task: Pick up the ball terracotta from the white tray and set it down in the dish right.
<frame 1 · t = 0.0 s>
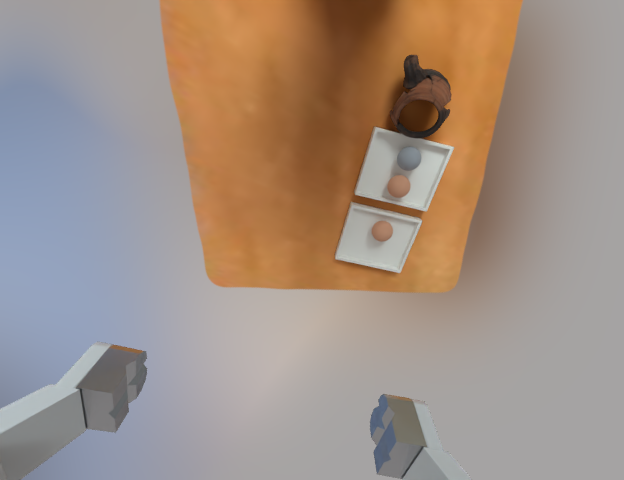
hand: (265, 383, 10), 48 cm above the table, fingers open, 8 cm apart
ball grey: (406, 156, 53), point 1 cm above the table, touching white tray
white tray: (400, 169, 54), on the table
ball terracotta b: (380, 227, 59), point 1 cm above the table, touching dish
ball terracotta a: (396, 183, 55), point 1 cm above the table, touching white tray
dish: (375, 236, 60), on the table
pottery mug: (414, 95, 49), on the table
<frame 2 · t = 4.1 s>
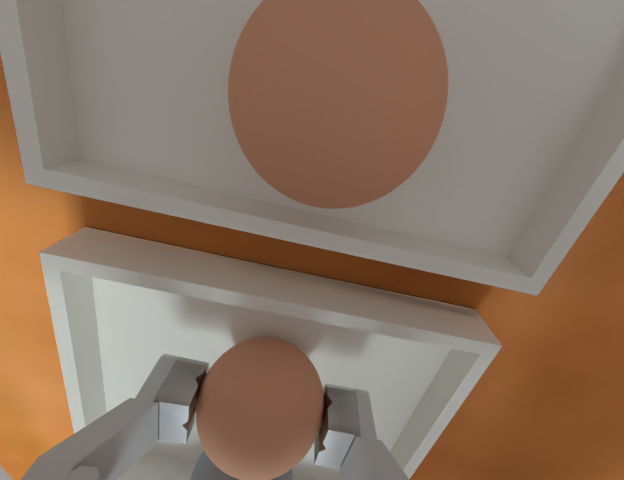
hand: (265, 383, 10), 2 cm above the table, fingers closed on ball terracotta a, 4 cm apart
ball grey: (252, 431, 14), point 1 cm above the table, touching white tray
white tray: (263, 383, 13), on the table
ball terracotta b: (331, 103, 8), point 1 cm above the table, touching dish
ball terracotta a: (271, 354, 11), point 1 cm above the table, touching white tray, gripper
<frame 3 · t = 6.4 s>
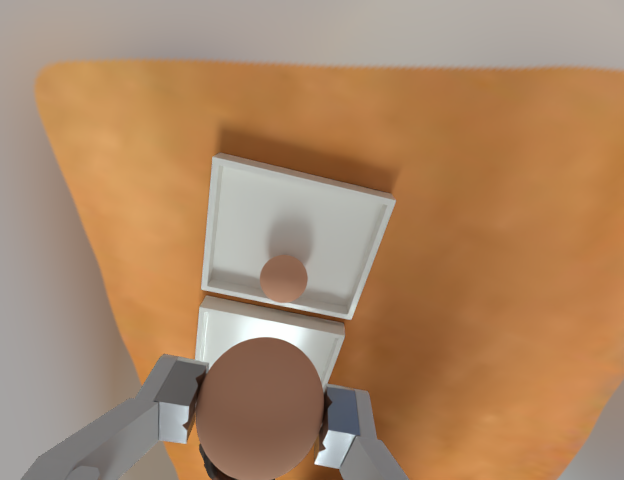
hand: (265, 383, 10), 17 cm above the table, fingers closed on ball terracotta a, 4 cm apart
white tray: (266, 352, 32), on the table
ball terracotta b: (286, 266, 27), point 1 cm above the table, touching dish
ball terracotta a: (271, 354, 11), point 15 cm above the table, touching gripper
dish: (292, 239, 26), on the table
pottery mug: (250, 422, 38), on the table
when the fingers open (3 cm above the table, at t = 9.1 s): ball terracotta a drops 1 cm, resting on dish.
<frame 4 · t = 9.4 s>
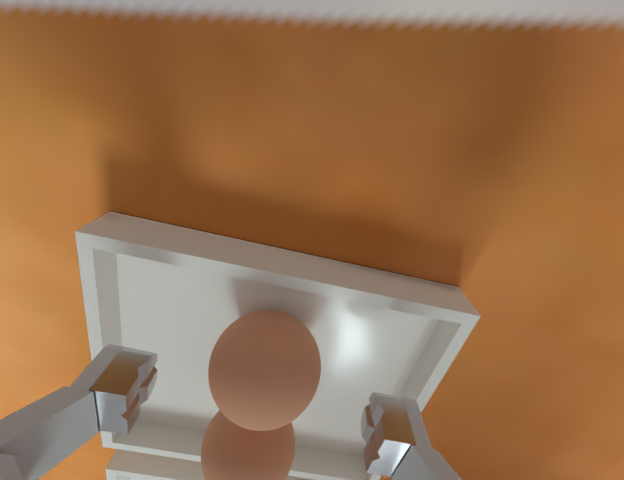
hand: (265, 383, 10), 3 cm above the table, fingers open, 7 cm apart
ball terracotta b: (257, 403, 15), point 1 cm above the table, touching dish
ball terracotta a: (276, 328, 13), point 1 cm above the table, touching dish
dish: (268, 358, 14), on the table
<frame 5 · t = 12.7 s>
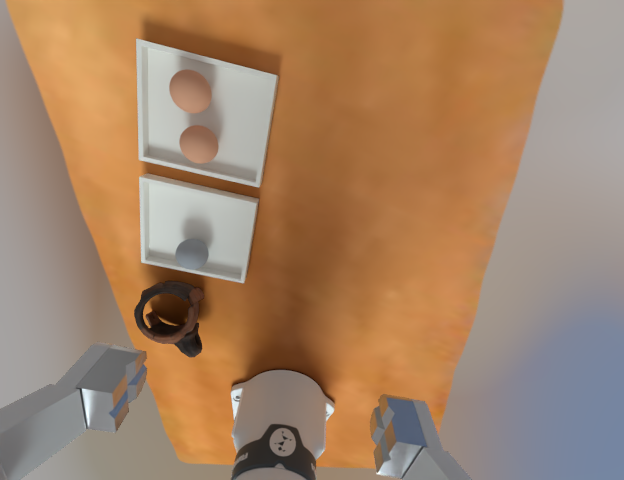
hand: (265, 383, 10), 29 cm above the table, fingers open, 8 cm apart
ball grey: (198, 247, 40), point 1 cm above the table, touching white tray
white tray: (200, 228, 40), on the table
ball terracotta b: (205, 142, 34), point 1 cm above the table, touching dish
ball terracotta a: (207, 95, 32), point 1 cm above the table, tilted 34°, touching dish
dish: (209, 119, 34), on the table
pottery mug: (184, 305, 46), on the table
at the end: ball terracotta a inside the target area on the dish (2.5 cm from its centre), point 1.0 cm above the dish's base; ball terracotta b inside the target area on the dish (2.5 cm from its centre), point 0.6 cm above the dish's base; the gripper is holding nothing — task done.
